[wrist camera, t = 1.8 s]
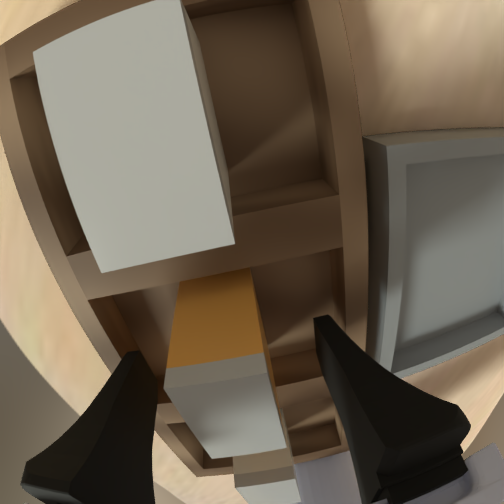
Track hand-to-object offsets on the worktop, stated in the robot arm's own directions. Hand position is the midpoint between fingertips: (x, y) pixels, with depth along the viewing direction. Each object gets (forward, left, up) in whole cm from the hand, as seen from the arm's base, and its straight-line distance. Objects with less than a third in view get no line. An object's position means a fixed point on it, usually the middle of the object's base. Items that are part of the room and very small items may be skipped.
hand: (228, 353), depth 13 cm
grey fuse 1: (+9, 0, -3) cm, 9 cm away
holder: (0, 0, -3) cm, 3 cm away
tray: (0, -13, -3) cm, 13 cm away
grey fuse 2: (-9, 0, -3) cm, 9 cm away
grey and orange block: (0, 0, -3) cm, 3 cm away
